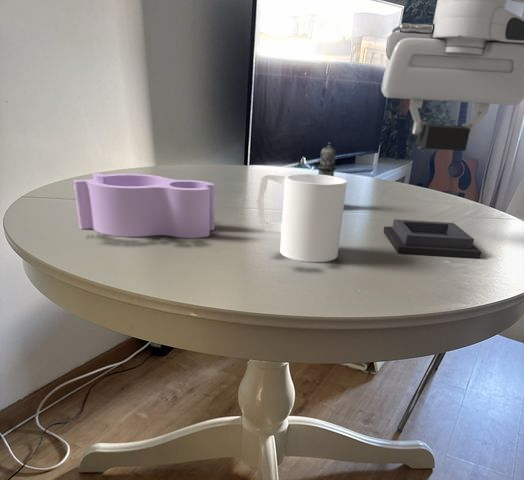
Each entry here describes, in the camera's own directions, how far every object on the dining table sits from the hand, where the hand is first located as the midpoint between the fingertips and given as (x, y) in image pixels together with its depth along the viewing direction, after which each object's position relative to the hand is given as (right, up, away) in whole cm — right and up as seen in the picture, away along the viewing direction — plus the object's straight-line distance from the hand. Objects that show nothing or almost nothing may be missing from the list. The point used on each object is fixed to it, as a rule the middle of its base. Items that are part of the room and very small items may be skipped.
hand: (442, 135), depth 72 cm
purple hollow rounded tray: (-45, -13, +3) cm, 47 cm away
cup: (-23, -19, -4) cm, 29 cm away
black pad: (0, -1, +1) cm, 2 cm away
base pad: (-1, -16, +3) cm, 16 cm away
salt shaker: (-15, -4, +24) cm, 29 cm away
